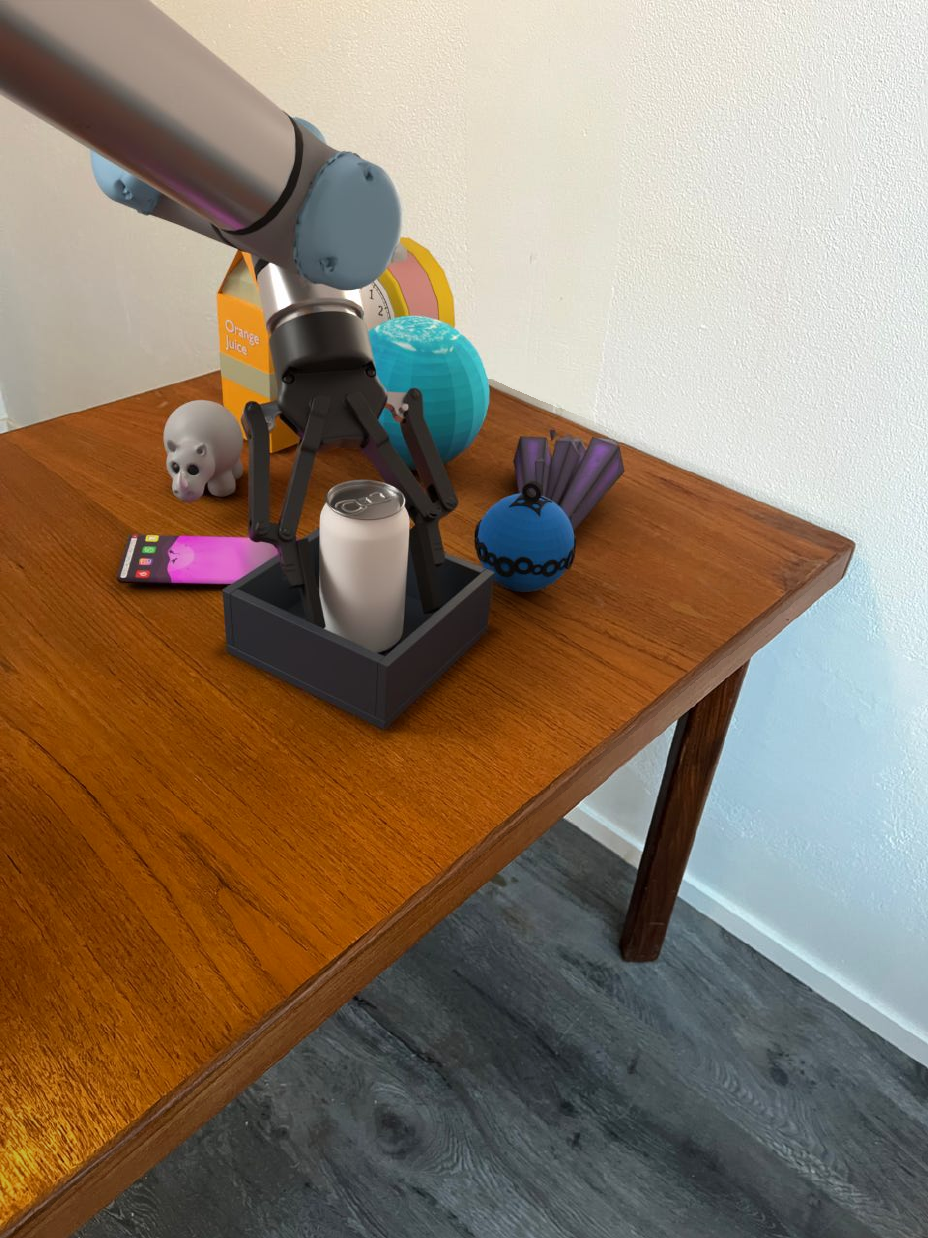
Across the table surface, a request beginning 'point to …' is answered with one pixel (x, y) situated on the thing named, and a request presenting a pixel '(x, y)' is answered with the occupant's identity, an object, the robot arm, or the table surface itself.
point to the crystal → (569, 471)
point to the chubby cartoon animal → (203, 450)
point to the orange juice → (247, 348)
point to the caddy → (340, 669)
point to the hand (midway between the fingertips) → (376, 620)
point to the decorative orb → (432, 381)
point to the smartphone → (190, 559)
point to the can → (364, 562)
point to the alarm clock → (409, 288)
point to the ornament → (525, 540)
